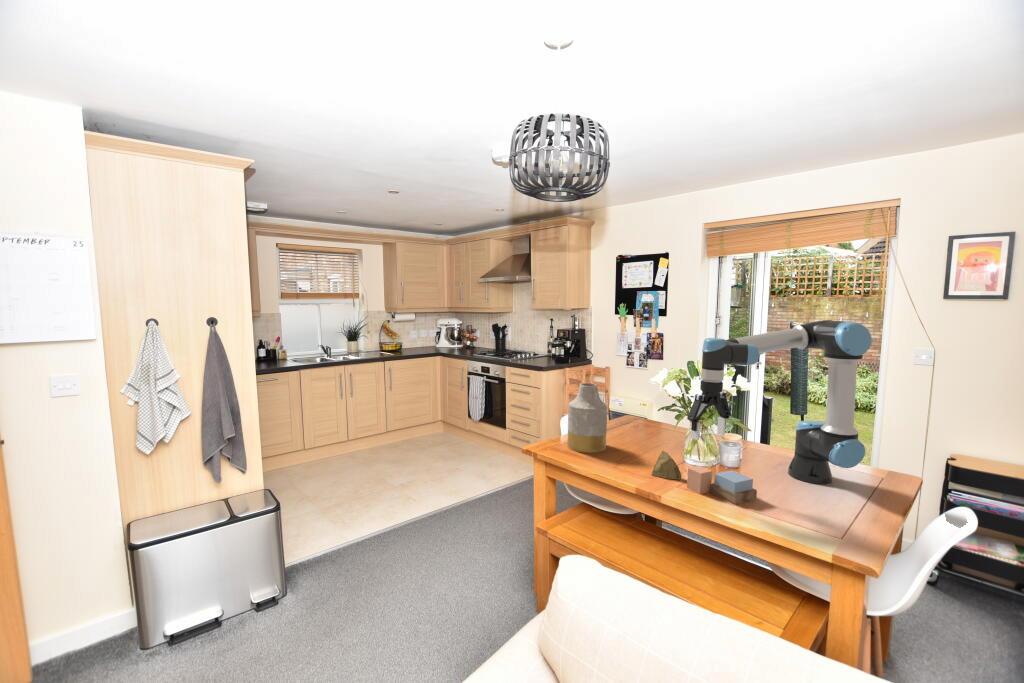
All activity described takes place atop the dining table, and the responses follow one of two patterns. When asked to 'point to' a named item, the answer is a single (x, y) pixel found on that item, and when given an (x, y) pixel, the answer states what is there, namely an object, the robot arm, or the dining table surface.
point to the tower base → (732, 497)
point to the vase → (587, 421)
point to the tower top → (733, 481)
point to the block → (699, 479)
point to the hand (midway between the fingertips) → (708, 436)
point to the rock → (666, 467)
